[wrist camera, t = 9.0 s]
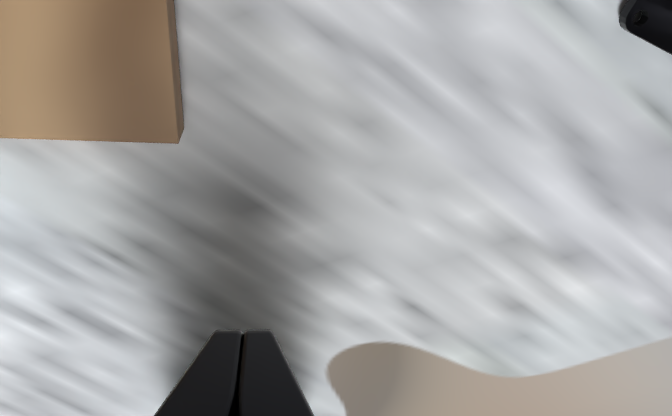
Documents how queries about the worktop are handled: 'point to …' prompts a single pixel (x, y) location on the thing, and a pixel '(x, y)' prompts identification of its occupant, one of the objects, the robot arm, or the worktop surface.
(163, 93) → the board
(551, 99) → the worktop surface
